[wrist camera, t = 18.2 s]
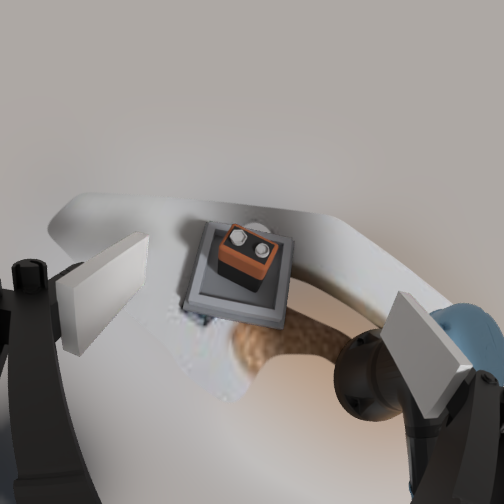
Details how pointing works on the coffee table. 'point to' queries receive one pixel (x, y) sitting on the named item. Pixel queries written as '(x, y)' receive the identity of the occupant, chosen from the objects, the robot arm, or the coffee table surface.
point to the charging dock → (233, 295)
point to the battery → (245, 257)
